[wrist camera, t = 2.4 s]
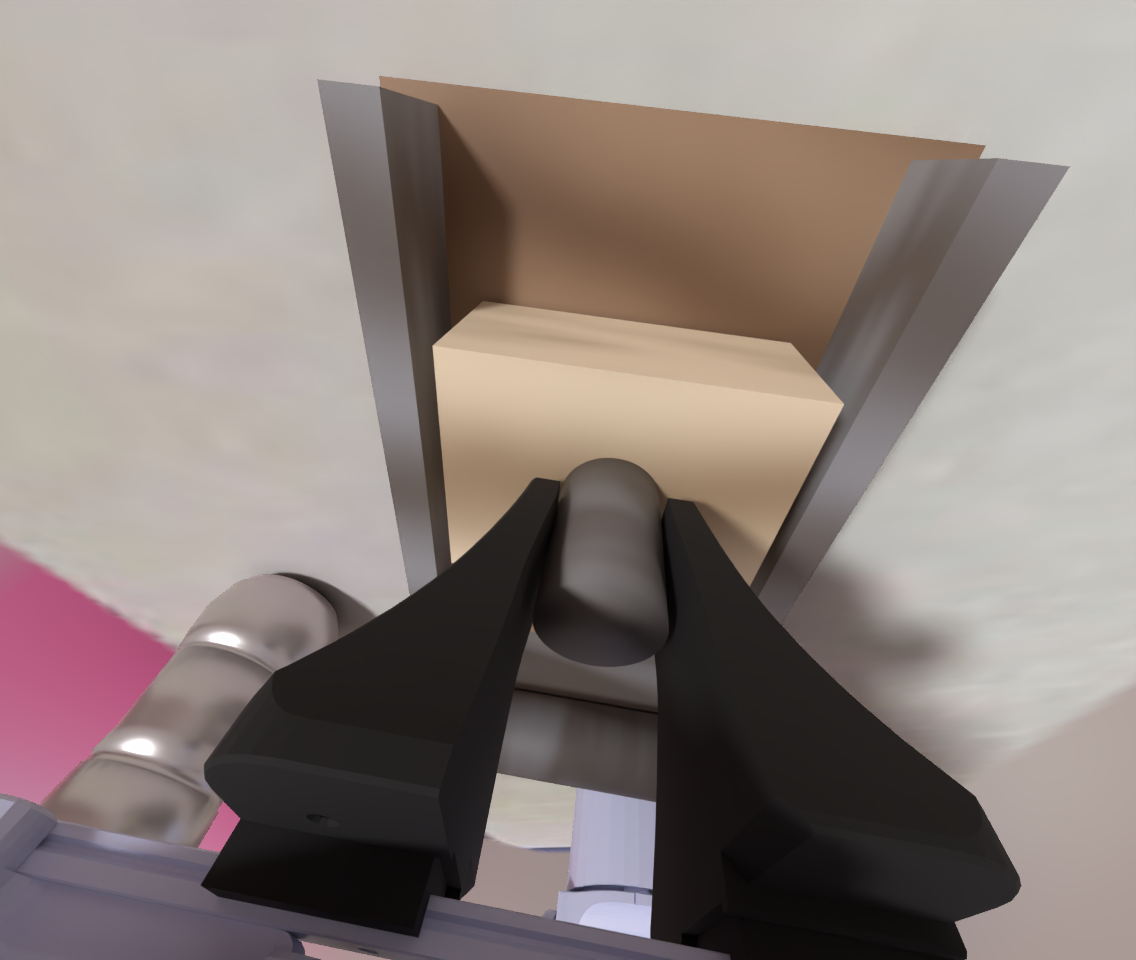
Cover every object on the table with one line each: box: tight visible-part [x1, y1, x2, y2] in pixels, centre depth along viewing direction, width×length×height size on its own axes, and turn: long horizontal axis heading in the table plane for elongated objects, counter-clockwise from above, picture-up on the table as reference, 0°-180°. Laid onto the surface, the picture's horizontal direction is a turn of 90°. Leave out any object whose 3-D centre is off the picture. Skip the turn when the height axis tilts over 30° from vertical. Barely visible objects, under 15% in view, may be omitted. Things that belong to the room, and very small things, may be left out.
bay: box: [318, 76, 1069, 802], centre depth 15 cm, size 23×14×7 cm, turn 174°
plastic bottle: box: [38, 574, 338, 848], centre depth 17 cm, size 6×7×20 cm
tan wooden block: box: [433, 301, 844, 667], centre depth 12 cm, size 7×9×8 cm
